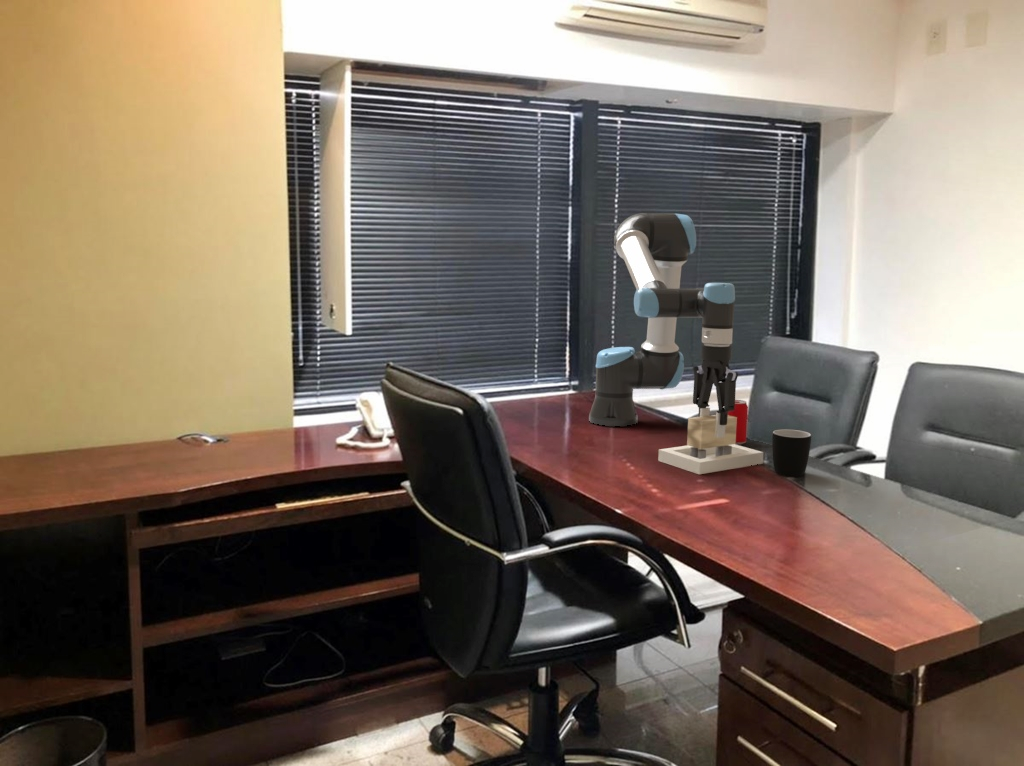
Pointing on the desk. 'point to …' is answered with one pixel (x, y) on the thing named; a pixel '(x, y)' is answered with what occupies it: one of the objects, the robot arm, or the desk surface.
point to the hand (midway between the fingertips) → (711, 434)
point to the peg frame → (710, 458)
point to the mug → (790, 451)
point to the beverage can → (740, 420)
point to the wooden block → (710, 432)
